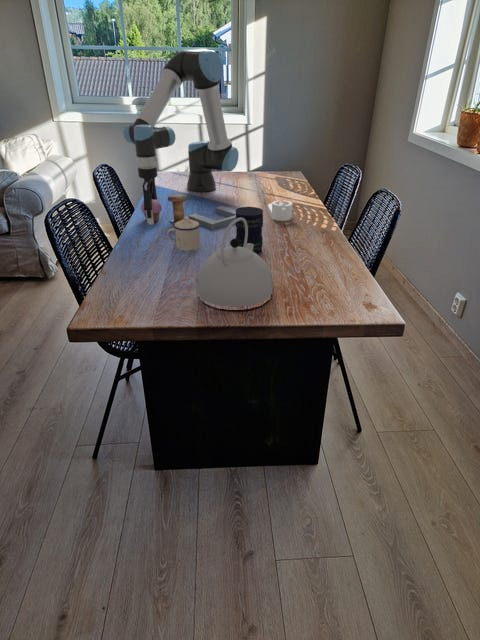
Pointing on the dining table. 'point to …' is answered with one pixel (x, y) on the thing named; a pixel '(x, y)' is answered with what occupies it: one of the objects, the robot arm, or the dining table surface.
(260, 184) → the dining table surface
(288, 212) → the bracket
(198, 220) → the notched board
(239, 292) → the kettle
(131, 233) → the dining table surface
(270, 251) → the dining table surface
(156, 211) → the cupcake
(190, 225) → the teacup with lid
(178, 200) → the bobbin
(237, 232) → the storage jar
